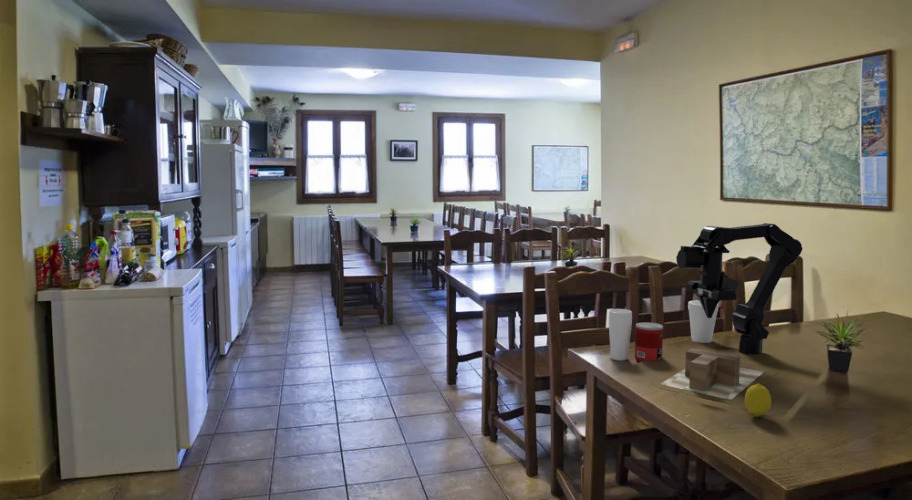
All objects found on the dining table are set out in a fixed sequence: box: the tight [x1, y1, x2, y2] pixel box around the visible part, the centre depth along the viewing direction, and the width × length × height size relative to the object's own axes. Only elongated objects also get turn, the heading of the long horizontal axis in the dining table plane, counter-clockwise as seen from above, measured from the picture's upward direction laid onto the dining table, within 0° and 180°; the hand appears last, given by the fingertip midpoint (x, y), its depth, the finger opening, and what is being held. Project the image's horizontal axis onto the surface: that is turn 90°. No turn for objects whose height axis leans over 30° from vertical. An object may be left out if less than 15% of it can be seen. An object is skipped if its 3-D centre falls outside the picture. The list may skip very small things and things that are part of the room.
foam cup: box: [687, 299, 719, 344], centre depth 214 cm, size 10×9×13 cm
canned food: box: [634, 322, 664, 363], centre depth 191 cm, size 8×8×11 cm
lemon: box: [744, 383, 772, 418], centre depth 146 cm, size 6×6×8 cm
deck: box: [659, 367, 765, 405], centre depth 171 cm, size 29×18×1 cm, turn 139°
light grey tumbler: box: [608, 308, 633, 362], centre depth 192 cm, size 7×7×15 cm
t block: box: [684, 347, 741, 391], centre depth 166 cm, size 13×13×7 cm
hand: (709, 317), depth 193 cm, fingers closed
